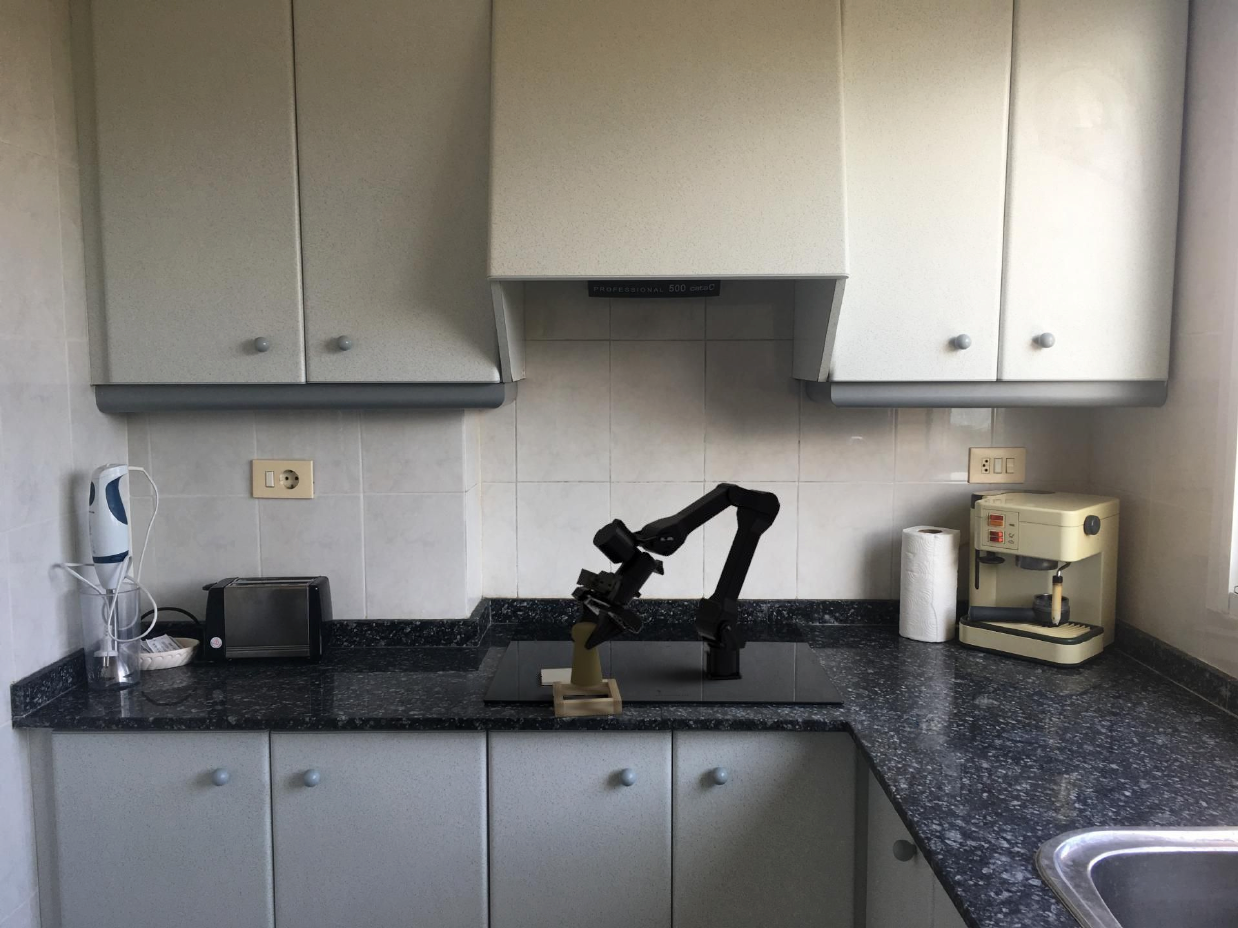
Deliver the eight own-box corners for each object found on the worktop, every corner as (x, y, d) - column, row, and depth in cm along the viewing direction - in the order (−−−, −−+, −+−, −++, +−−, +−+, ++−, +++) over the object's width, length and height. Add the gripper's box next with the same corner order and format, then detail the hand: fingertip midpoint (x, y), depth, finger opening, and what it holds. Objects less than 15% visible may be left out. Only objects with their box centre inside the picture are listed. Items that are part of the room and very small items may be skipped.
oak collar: (614, 691, 175) (614, 678, 175) (621, 713, 163) (621, 700, 163) (553, 694, 174) (552, 681, 173) (555, 716, 162) (555, 703, 162)
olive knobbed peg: (602, 686, 165) (600, 627, 164) (569, 686, 165) (567, 628, 164) (603, 675, 171) (602, 618, 170) (571, 675, 171) (570, 619, 170)
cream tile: (579, 671, 187) (579, 667, 187) (582, 684, 179) (582, 680, 179) (541, 673, 186) (541, 669, 186) (542, 686, 178) (542, 682, 178)
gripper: (579, 545, 176) (529, 608, 171) (627, 560, 160) (574, 631, 155) (614, 579, 180) (567, 642, 176) (665, 598, 164) (614, 667, 160)
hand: (579, 644), depth 167 cm, fingers closed on olive knobbed peg, 5 cm apart
